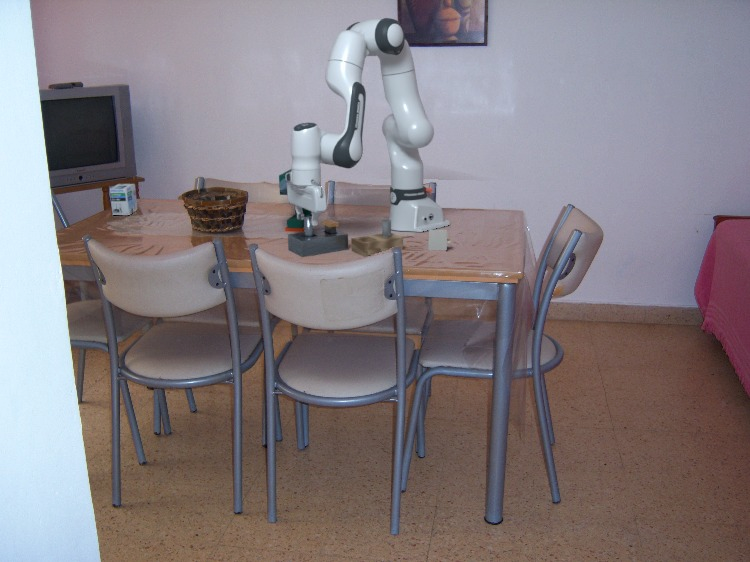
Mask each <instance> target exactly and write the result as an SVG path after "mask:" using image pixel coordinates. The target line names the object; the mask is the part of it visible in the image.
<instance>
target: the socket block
mask: <svg viewBox="0 0 750 562" xmlns="http://www.w3.org/2000/svg"><path fill="white" fill-rule="evenodd" d="M287 245H288V246H287V247H288V251H290V252H292V253H294V254H296V255H297V256H300V257H302V258H304V257H305V258H307V257H312V256H316V255H322V254H329V253H335V252H341V251H349V233H346V232H344V231H342V230H339V229H337V228H336V234H331V235H330V234H328V233H325V228H324V229H316V230H315V229H314V237H308V238H306V237H305V231H304V232H294V233H290V234H287Z"/></svg>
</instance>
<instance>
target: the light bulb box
mask: <svg viewBox="0 0 750 562" xmlns="http://www.w3.org/2000/svg"><path fill="white" fill-rule="evenodd" d="M136 191H137V190H136V183H118V184H116V185H114V186H111V188H109V193H110V194H109V197H110V202H111V203H110V204H111V211H112V216H113V215H130V214H132V213H133V212H134V211H136V210H137V209H138V201H137V192H136ZM133 214H134V213H133ZM133 214H132V215H133ZM130 216H131V215H130Z"/></svg>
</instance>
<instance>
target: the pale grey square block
mask: <svg viewBox="0 0 750 562" xmlns="http://www.w3.org/2000/svg"><path fill="white" fill-rule="evenodd" d="M451 242H452V240H451V239H450V238H448V230H447V229H441V228H437V229H432V230H428V239H427V250H428V249H429V250H448V243H451Z"/></svg>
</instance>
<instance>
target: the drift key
mask: <svg viewBox="0 0 750 562" xmlns="http://www.w3.org/2000/svg"><path fill="white" fill-rule="evenodd" d="M321 225H322V226H324V229H325V233H328V234H330V235H331V234H336V229H337V227H339V226H340V223H339V222H337V221H335V220H332V219H326V220H322V221H321Z"/></svg>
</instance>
